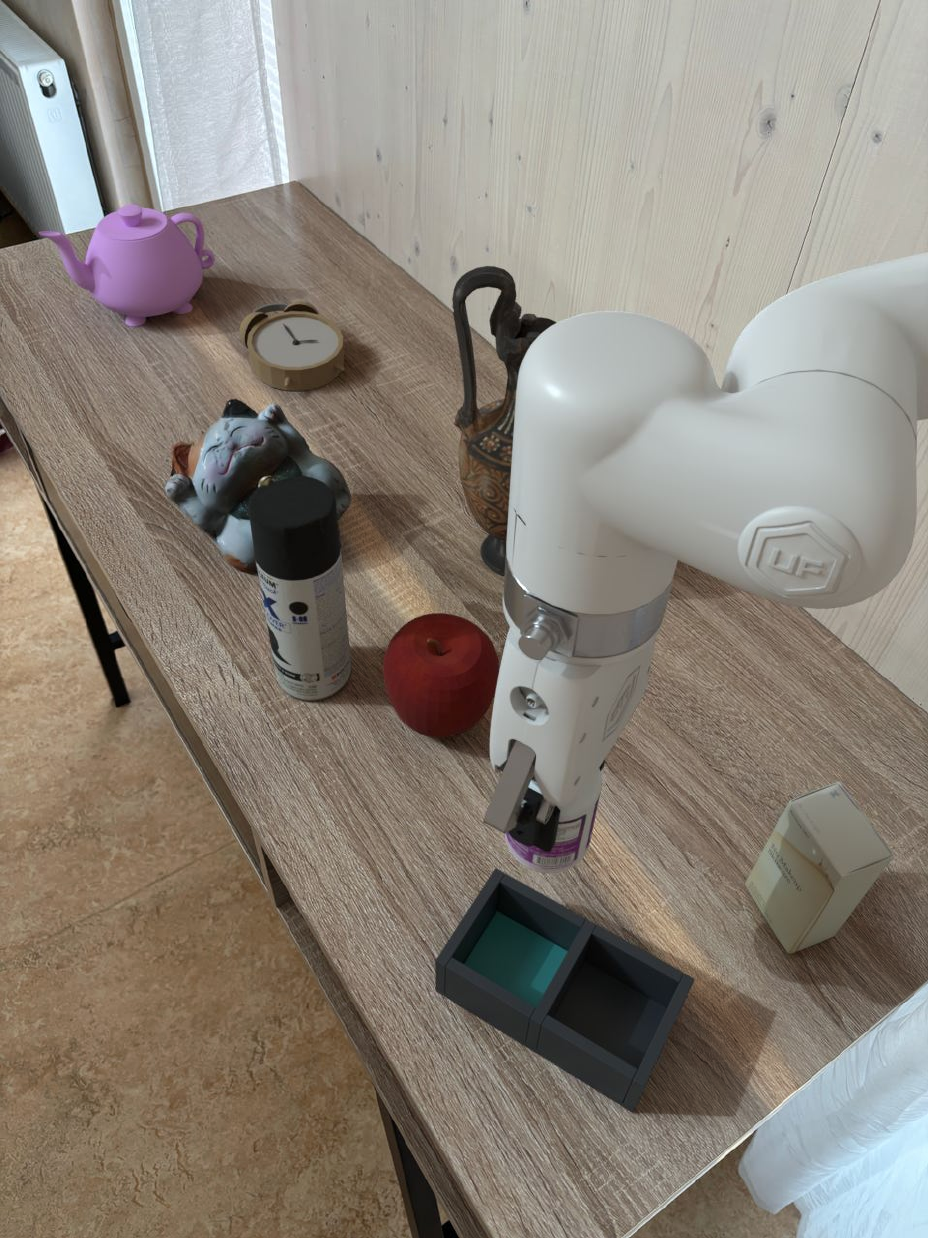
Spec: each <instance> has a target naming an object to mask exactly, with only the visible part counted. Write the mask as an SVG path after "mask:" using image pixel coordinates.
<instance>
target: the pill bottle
mask: <svg viewBox="0 0 928 1238" xmlns="http://www.w3.org/2000/svg"><path fill="white" fill-rule="evenodd" d="M602 786H603V779H602V771H601V772H600V769H598V770H597V772H596V773H595V775H594V777H593V778H592V780H591V781H590V783H589V784H588V786H587V787H586V789H585V790H584V792H583V793H582V794H581V796H580V797H579V798H578V799H577V800H576V801H575V802H574V803H572V804H570V805H568V806H565V807H560V806H557V805H556V806H557V807H558V808H559V809H560V810H561V811H560V817H559V823H558V829H557V835H556V841H555V845H554V847H553V848H552V850H551V852H545V851H543V850H541V849H539V848H537V847H536V846H534V845H533V846H532V847H528V846H525V845H523V844H521V843H519V842H517V841H516V840H514V839H513V838H512V837H511V836H510V834H509V832H507V833H505V834H504V837H505V842H506V846H507V848H508V850H509V852H510V853H511V855H512V856H513V858H514V859H516V861H517V862H518V863H519V864H521V866H524V867H525V868H527V869H529V870H532V871H534V872H537V873H539V874H558V873H562V872H565V871H568V870H570V869H572V868H574V867H576V866H577V865H579V863H580V862H581V861H582V860H583V859H584V858H585V856H586V855H587V853H588V851H589V848H590V844H591V840H592V837H593V831H594V826H595V822H596V816H597V812H598V806H599V802H600V797H601V794H602ZM529 788H531V789H533V790H534V791H536V792H538V793H540V794H542V793H541V791H540V789H539V786H538V784H537V782H535V781H533V780H531V782H530V784H529Z"/></svg>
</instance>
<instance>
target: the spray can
mask: <svg viewBox="0 0 928 1238" xmlns="http://www.w3.org/2000/svg"><path fill="white" fill-rule="evenodd" d="M248 512H249V519H250V525H251V532H252V539H253V546H254V554H255V559H256V565H257V570H258V574H257V575H258V582H259V586H260V592H261V598H262V599H261V600H262V604H263V609H264V615H265V621H266V627H267V633H268V639H269V644H270V649H271V656H272V662H273V668H274V672H275V676H276V679H277V682H278V684H279V686H280V687H281V689H282V691H283V692H285V693H286V694H287V695H289V696H290V697H292V698H293V699H298V700H300V701H304V702H317V701H322V700H327V699H328V698H331V697H333V696H335V695H336V694H338V693H339V692H340V691H341V690H343V688H344V687H345V686H346V684H347V683H348V680H349V679H350V674H351V670H352V662H351V661H352V660H351V649H350V638H349V628H348V627H349V626H348V614H347V602H346V591H345V581H344V567H343V556H342V543H341V533H340V527H339V520H338V515H337V507H336V499H335V495H334V493H333V491H332V490H331V489H330V488H329V487H328V486H327V485H326V484H325V483H324V482H322V481H320V480H317V479H315V478H312V477H307V476H304V475H302V476H299V477H297V478H286V479H281V480H278V481H275V482H272V483H270V484H268V485H262V486H260V487H259V488H258V489H257V490H256V491H254V493H253V495H252V496H251V498H250V501H249V503H248Z"/></svg>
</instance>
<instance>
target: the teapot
mask: <svg viewBox="0 0 928 1238" xmlns="http://www.w3.org/2000/svg"><path fill="white" fill-rule="evenodd" d="M183 223H193V224H194V227H195V244H194V246H193V243H191V241H190V240H189V238H188V237H187V236H186V235H185V233H184V232H183V231H182V230H181V228H180V227H178V225H180V224H183ZM38 234H39V235H40V236H42V237H44V238H46V239H49V240H50V241H51V242H53V243H54V244H55V246H56V247H57V249H58V250H59V253H60V256H61V260H62V262H63V265H64V268H65V270H66V272H67V274H68V276H69V278H71V280H72V282H74V284H75V285H77V286H78V287H80V288H81V289H83V290H86V291H89V293H90V294H91V296H92V297H93V298H94V300H96V301H97V302H98V303H99V304H101V305H102V306H103V307H105V308H107V309H108V310H111V311H112V312H114V313H116V314H119V315H122V316H125V324H126V325H127V326H129V327H139V326H141V325H144V324H145V323H146V322H147V317H154V316H156V317H157V316H161V315H164V314H165V315H166V314H167V313H170V312H173V313H175V314H178V315H183V314H188V313H190V312H191V311H193V305H192V304H190V301H191V300H192V298H193V297H195V295H196V293H197V292H198V290H199V288H200V287H201V286H202V284H203V283H202V282H203V279H204V278H203V277H204V271H203V270H208V269H211V267H213V265H214V264H215V260H216V259H215V255H214V253H213V252H212V251H211V250H210V249H206V248H205V249H204V244H205V228H204V224H203V223H202V221H201V219H200V218H199V217H197V215H194V214H192V213H189V212H179V213H176V214H174V215H172V216H171V217H169V216H168V215H166V214H165V213H163V212H162V211H159V210H157V209H153V208H150V207H141V206H140V205H137V204H126V205H123V206H120V207H119V208H118V210H116V211H113V212H110V213H109V214H107V215H105V216H104V217H102V218H101V219H100V220H99V222H98V223H97V225H96V227H95V229H94V231H93V233H92V236H91V238H90V241H89V244H88V248H87V251H86V257H85V262H83V261H80V260H79V259H78V257H77V256H76V253H75V250H74V248H73V245H72V243H71V242H70V240H69V239H68V237H67V236H66V235H64V234H63V233H61V232H58V231H53V230H43V231H39V232H38ZM206 256H207V258H206V259H204V260H203V257H206Z"/></svg>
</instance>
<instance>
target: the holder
mask: <svg viewBox="0 0 928 1238" xmlns="http://www.w3.org/2000/svg"><path fill="white" fill-rule="evenodd" d="M434 963H435V965H434V966H435V967H434V969H435V970H434V971H435V972H434V973H435V975H434V976H435V979H434V980H435V983H434V984H435V985H434V987H435V988H434V990H435V992H436V993H438V994H440V995H441V996H443V997H444V998H445V999H448V1001H451V1002H452V1003H454V1004H455V1005H457V1006H459V1007H460V1008H462V1009H464V1010H465V1011H466V1012H469V1013H470V1014H472V1015H473V1016H475V1017H477V1018H478V1019H479V1020H481V1021H483V1022H484V1023H487V1024H488V1025H490V1026H492V1027H493V1028H494V1029H496V1030H498V1031H499V1032H501V1033H503V1034H504V1035H506V1037H509V1038H511V1039H512V1040H513V1041H515V1042H517V1043H518V1044H520V1045H522V1046H524V1047H525V1048H526V1049H528V1050H530V1051H532V1052H533V1053H535V1054H537V1055H538V1056H540V1057H542V1058H543V1059H544V1060H546V1061H548V1062H549V1063H551V1064H552V1065H554V1066H556V1067H558V1068H559V1069H561V1070H563V1071H564V1072H566V1073H567V1074H569V1075H570V1076H573V1078H575V1079H577V1080H578V1081H580V1082H582V1083H584V1084H586V1085H587V1086H589V1087H590V1088H592V1089H593V1090H595V1091H596V1092H597V1093H599V1094H601V1095H603V1096H605V1097H606V1098H608V1099H610V1100H611V1101H613V1102H614V1103H616V1104H618V1105H619V1106H621V1107H622V1108H624V1109H625V1110H627V1111H629V1112H631V1113H632V1114H633V1113H634V1111H635V1109H636V1107H637V1105H638V1103H639V1101H640V1098H641V1096H642V1094H643V1092H644V1089H645V1087H646V1086H647V1084H648V1081H649V1079H650V1077H651V1075H652V1073H653V1070H654V1068H655V1066H656V1064H657V1063H658V1060H659V1057H660V1056H661V1053H662V1051H663V1050H664V1047H665V1044H666V1042H667V1040H668V1039H669V1037H670V1035H671V1032H672V1030H673V1027H674V1025H675V1023H676V1021H677V1019H678V1017H679V1014H680V1012H681V1011H682V1008H683V1006H684V1004H685V1002H686V999H687V998H688V996H689V993H690V991H691V989H692V987H693V984H694V983H695V980H696V979H695V978H694V977H693V976H690V975H689V974H688V973H684V971H682V970H680V969H678V968H677V967H675V966H673V965H671V964H670V963H667V962H666V961H664V960H662V959H661V958H659V957H657V956H655V955H653V954H652V953H649V952H648V951H646V950H644V949H642V948H641V947H639V946H637V945H635V944H634V943H631V942H630V941H628V940H627V939H625V938H623V937H621V936H619V935H617V934H615V933H614V932H612V931H610V930H608V929H607V928H604V927H603V926H601V925H599V924H597V923H596V922H594V921H592V920H590V919H589V918H586V917H585V916H583V915H581V914H579V913H577V912H576V911H574V910H572V909H570V908H569V907H566V906H565V905H563V904H562V903H559V902H558V901H556V900H555V899H552V898H551V897H549V896H547V895H545V894H543V893H541V892H540V891H538V890H536V889H534V888H532V887H531V886H529V885H527V884H525V883H523V882H521V881H519V880H518V879H516V878H514V877H512V876H511V875H510V874H507V873H505V872H504V871H502V870H500V869H498V868H494V870H493V871H492V873H491V874H490V876H489V877H488V879H487V881H486V882H485V883H484V885H483V887H482V888H481V890H480V891H479V893H478V894H477V895H476V897H475V899H474V900H473V902H472V903H471V905H470V907H469V908H468V910H467V911H466V912H465V914H464V916H463V917H462V919H461V920H460V922H459V923H458V925H457V926H456V927H455V929H454V931H453V932H452V934H451V936H449V939H448V940H447V942H446V943H445V945H444V946H443V948H442V949H441V951H440V952H439V954H438V956H437V957H436V958H435V961H434Z"/></svg>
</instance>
